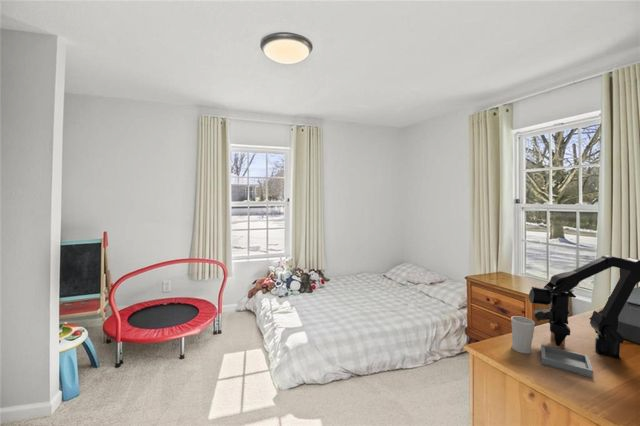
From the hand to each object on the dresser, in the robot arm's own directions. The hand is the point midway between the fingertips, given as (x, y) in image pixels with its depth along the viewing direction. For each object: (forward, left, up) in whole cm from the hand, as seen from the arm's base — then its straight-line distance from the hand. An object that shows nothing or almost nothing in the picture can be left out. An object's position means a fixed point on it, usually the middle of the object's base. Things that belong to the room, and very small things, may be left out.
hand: (557, 343), depth 126 cm
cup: (+12, +13, -1) cm, 18 cm away
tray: (-1, +16, -1) cm, 16 cm away
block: (0, 0, -1) cm, 1 cm away
